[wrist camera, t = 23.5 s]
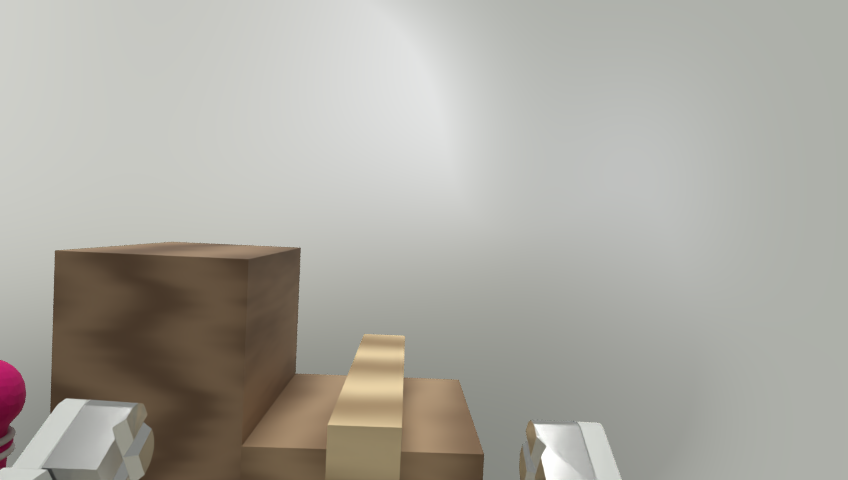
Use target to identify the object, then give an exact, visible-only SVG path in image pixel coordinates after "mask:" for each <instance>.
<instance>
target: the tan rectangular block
mask: <svg viewBox="0 0 848 480" xmlns="http://www.w3.org/2000/svg"><path fill="white" fill-rule="evenodd" d="M404 346H405V336H397V335H394V336H393V335H371V334H364V336H363V338H362V341H361V343H360V346H359V348H358V351H357V353H356V356H355V358H354V361H353V364H352V366H351V368H350V371H349V373H348V376H347V378H346V380H345V383H344V385H343V388H342V390H341V393H340V395H339V398H338V400H337V403H336V405H335V408H334V410H333V413H332V415H331V418H330V420H329V423H328V426H327V449H326V473H325V480H399V479H400V458H401V436H402V409H403V378H404Z"/></svg>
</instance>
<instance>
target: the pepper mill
mask: <svg viewBox="0 0 848 480" xmlns="http://www.w3.org/2000/svg"><path fill="white" fill-rule="evenodd" d="M25 398H26V390H25V383H24V380H23V378H22V376H21V374H20V373H19V372H18V371H17V370H16V368H14V367H13V366H12V365H10V364H8V363H7V362H5V361H2V360H0V470H1V469H2V468H6V461H7V456H9V455H10V454H11V453H12V452H13V451H14V449H15V443H14V442H13V437H14V436H15V433H16V431H15V429H14V428H13V427H11V426H9V424H10V423H11V422H12V421H13V419H15V417H16V416H17V415H18V414H19V413H20V412H21V410H22V408H23V405H24V403H25Z"/></svg>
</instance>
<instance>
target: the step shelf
mask: <svg viewBox="0 0 848 480" xmlns="http://www.w3.org/2000/svg"><path fill="white" fill-rule="evenodd" d="M300 249H301V248H294V247H272V246H250V245H249V246H248V245H228V244H207V243H206V244H205V243H185V242H164V243H151V244H137V245H124V246H110V247H97V248H84V249H70V250H56V251H55V271H54V305H53V340H52V342H53V343H52V376H51V410H50V414H51V413H52V411H53V410H54V409H55V407H56V406H57V405H58V404H59V403H60V402H62V401H63V400H65V399H66V398H68V399H86V400H102V401H116V402H130V403H142V404H144V406H145V409H146V411H147V416H146V418H145V420H144V423H145V424H146V425H148V426H149V427H150V428H152V431H153V435H154V450H153V454H152V458H151V462H150V464H149V466H148V469H147V471H146V473H145V475H144V476H142V477H141V478H140V479H138V480H325V473H326V449H327V426H328V423H329V420H330V418H331V415H332V413H333V410H334V408H335V405H336V403H337V400H338V398H339V395H340V393H341V390H342V388H343V385H344V383H345V380H346V378H347V376H345V375H319V374H295V372H296V347H297V323H298V300H299V275H300ZM483 462H484V453H483V450H482V447H481V444H480V441H479V438H478V436H477V432H476V430H475V426H474V423H473V420H472V418H471V415H470V412H469V409H468V406H467V403H466V400H465V397H464V394H463V391H462V388H461V385H460V382H459V380H452V379H451V380H450V379H425V378H403V409H402V436H401V458H400V479H399V480H483Z"/></svg>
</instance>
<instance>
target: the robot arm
mask: <svg viewBox="0 0 848 480" xmlns="http://www.w3.org/2000/svg"><path fill="white" fill-rule="evenodd" d="M146 416H147V411H146V409H145V406H144V404H142V403H130V402H116V401H102V400H86V399H68V398H66V399H65V400H63V401H62V402H60V403H59V404H58V405H57V406H56V407H55V409H54V410H53V411H52V413H51V414H50V416H49V417H48V418H47V420H46V421H45V422H44V424H43V425H42V427H41V428H40V429H39V431H38V432H37V433H36V435H35V436H34V437H33V439H32V440H31V441H30V443H29V444H28V446H27V447H26V448H25V450H24V451H23V453H22V454H21V455H20V456H19V458H18V459H17V461H16V462H15V463H14V465H13V466H12V467H11V468H2V469H1V470H0V480H138V479H140V478H141V477H142V476H144V475H145V473H146V471H147V469H148V466H149V464H150V462H151V458H152V454H153V450H154V435H153V431H152V428H150V427H149V426H148V425H146V424H145V423H144V420H145V418H146ZM526 435H527V440H528V441H526V442H525V443H524V444H522V448H521V453H520V463H519V471H520V480H622V479H621V476H620V473H619V470H618V467H617V464H616V462H615V459H614V456H613V453H612V451H611V448H610V445H609V442H608V439H607V437H606V433H605V431H604V428H603V426H602V425H601V424H600V423H592V422H591V423H590V422H574V421H551V420H530V421H529V423H528V425H527V428H526Z"/></svg>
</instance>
